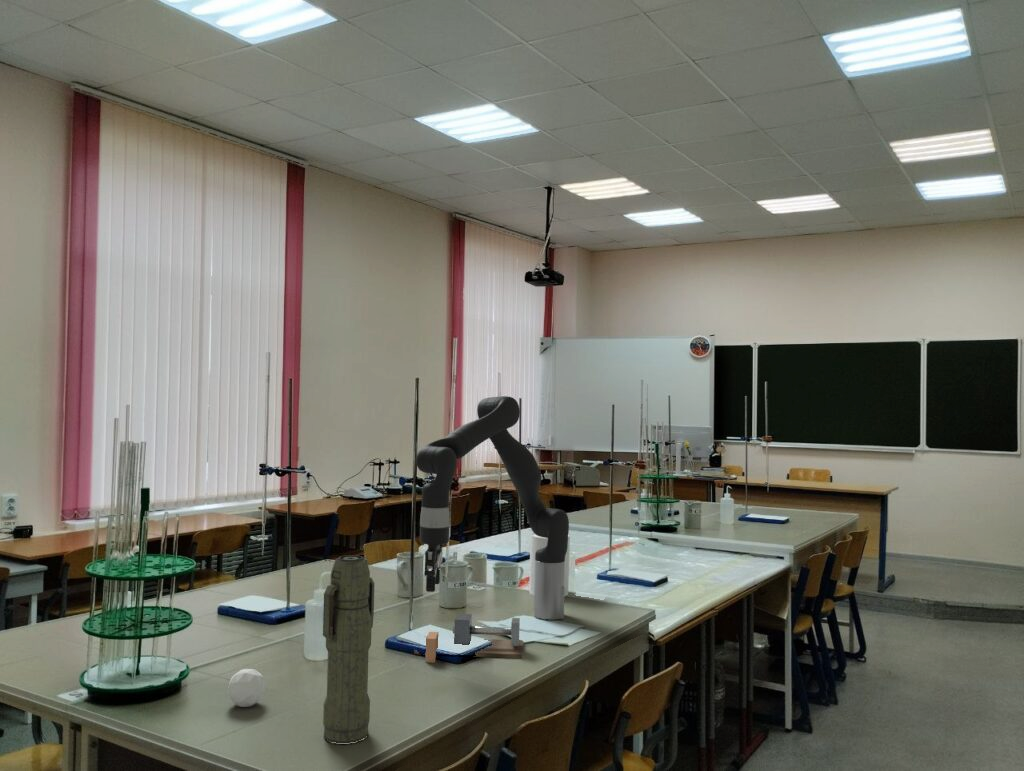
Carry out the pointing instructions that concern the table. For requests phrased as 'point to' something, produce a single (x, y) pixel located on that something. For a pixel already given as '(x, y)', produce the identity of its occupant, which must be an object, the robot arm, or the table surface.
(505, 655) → the base plank
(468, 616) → the grey upright block
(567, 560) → the canister
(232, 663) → the table surface
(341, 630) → the thermos
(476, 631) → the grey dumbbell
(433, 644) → the block
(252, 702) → the geometric ball
